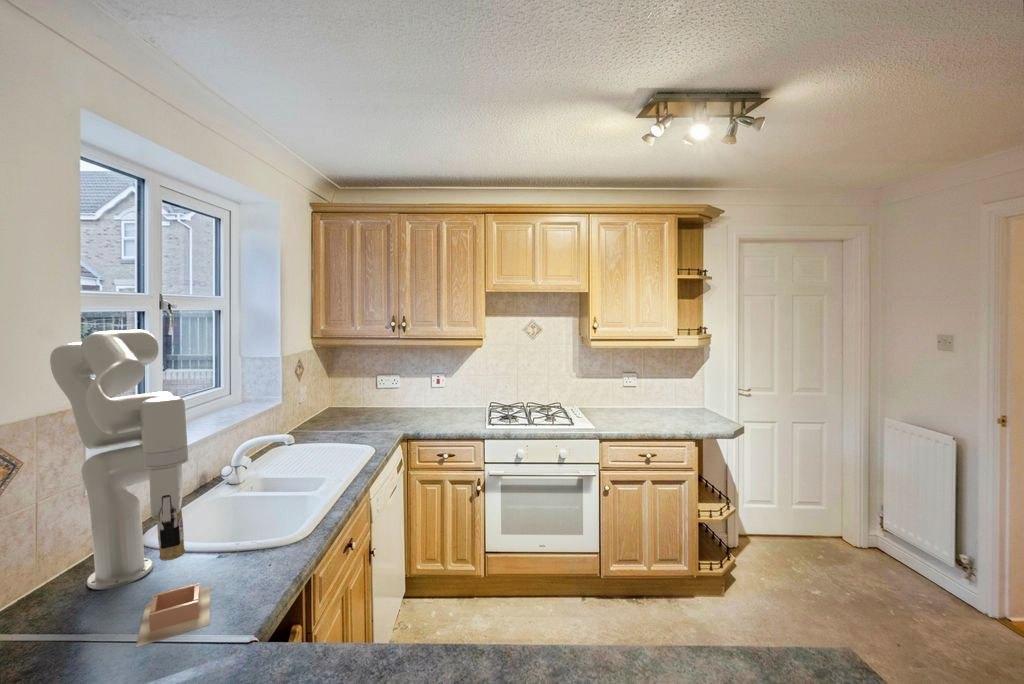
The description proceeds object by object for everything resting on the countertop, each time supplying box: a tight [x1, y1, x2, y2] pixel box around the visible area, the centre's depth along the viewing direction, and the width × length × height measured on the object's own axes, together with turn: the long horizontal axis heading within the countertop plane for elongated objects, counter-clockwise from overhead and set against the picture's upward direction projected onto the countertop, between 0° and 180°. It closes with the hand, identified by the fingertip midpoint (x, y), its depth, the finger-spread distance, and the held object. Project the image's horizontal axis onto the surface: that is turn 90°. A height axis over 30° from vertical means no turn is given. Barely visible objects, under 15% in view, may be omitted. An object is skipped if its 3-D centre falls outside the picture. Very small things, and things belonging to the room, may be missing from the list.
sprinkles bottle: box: [156, 508, 186, 562], centre depth 100 cm, size 5×5×13 cm
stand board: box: [135, 586, 211, 648], centre depth 101 cm, size 16×12×1 cm
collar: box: [149, 582, 201, 632], centre depth 101 cm, size 8×8×4 cm
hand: (171, 540), depth 100 cm, fingers closed on sprinkles bottle, 4 cm apart
